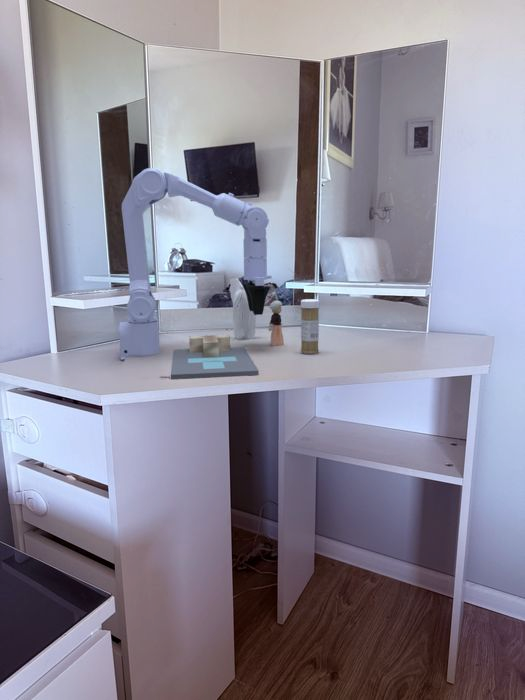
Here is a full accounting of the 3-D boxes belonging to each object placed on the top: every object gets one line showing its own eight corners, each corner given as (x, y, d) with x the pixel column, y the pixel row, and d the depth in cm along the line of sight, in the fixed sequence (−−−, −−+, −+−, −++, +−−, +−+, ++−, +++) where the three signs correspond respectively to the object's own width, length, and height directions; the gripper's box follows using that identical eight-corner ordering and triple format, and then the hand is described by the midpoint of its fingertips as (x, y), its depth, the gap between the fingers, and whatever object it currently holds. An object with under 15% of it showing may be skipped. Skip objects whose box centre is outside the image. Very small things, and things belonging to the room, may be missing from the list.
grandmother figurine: (281, 351, 125) (281, 302, 123) (266, 350, 126) (266, 301, 124) (286, 345, 133) (285, 299, 130) (272, 345, 134) (271, 298, 131)
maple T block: (190, 358, 113) (189, 343, 113) (189, 349, 123) (189, 336, 122) (232, 356, 115) (232, 341, 114) (229, 348, 124) (228, 334, 124)
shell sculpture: (263, 342, 137) (262, 278, 134) (234, 344, 135) (233, 279, 131) (254, 337, 145) (254, 277, 142) (228, 339, 143) (226, 277, 139)
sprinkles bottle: (315, 350, 125) (316, 298, 123) (321, 354, 121) (321, 300, 118) (298, 351, 125) (298, 299, 122) (303, 355, 120) (303, 300, 117)
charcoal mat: (170, 379, 98) (170, 374, 98) (173, 353, 124) (173, 349, 123) (258, 375, 101) (258, 370, 101) (244, 350, 126) (244, 346, 126)
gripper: (276, 258, 114) (276, 315, 116) (266, 257, 128) (266, 308, 130) (246, 258, 113) (247, 316, 115) (239, 257, 127) (240, 309, 129)
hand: (255, 312), depth 123 cm, fingers open, 7 cm apart
